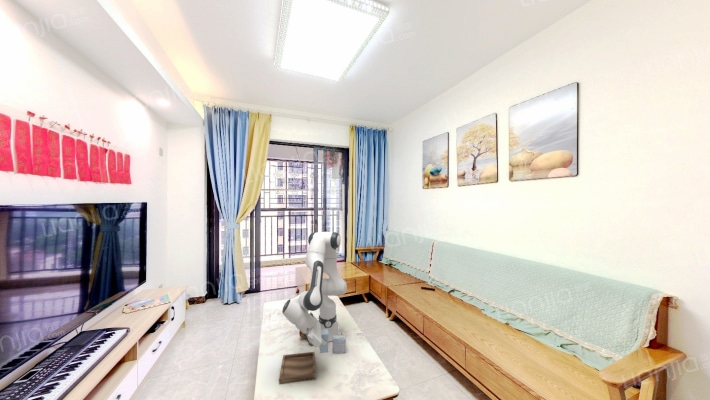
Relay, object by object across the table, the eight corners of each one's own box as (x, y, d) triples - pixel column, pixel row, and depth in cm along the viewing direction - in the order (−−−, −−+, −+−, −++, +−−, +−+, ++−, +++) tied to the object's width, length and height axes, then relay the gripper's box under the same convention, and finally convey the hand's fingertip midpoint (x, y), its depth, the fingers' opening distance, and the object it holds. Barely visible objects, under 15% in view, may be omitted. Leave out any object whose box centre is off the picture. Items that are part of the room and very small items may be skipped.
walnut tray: (283, 359, 136) (283, 355, 136) (314, 356, 139) (314, 351, 139) (279, 384, 118) (279, 379, 118) (315, 379, 121) (315, 374, 121)
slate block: (319, 347, 130) (319, 330, 129) (327, 347, 130) (327, 329, 130) (319, 353, 125) (320, 334, 125) (328, 352, 126) (328, 333, 126)
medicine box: (345, 348, 146) (345, 335, 146) (345, 353, 142) (345, 339, 142) (333, 348, 146) (333, 335, 146) (332, 353, 141) (332, 339, 141)
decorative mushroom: (317, 333, 147) (308, 315, 158) (302, 346, 143) (294, 327, 155) (324, 341, 153) (315, 323, 165) (309, 353, 150) (301, 334, 161)
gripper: (311, 330, 116) (331, 347, 118) (311, 310, 136) (327, 325, 138) (302, 340, 115) (322, 357, 117) (303, 319, 135) (320, 334, 137)
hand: (325, 340), depth 128 cm, fingers closed on slate block, 4 cm apart
